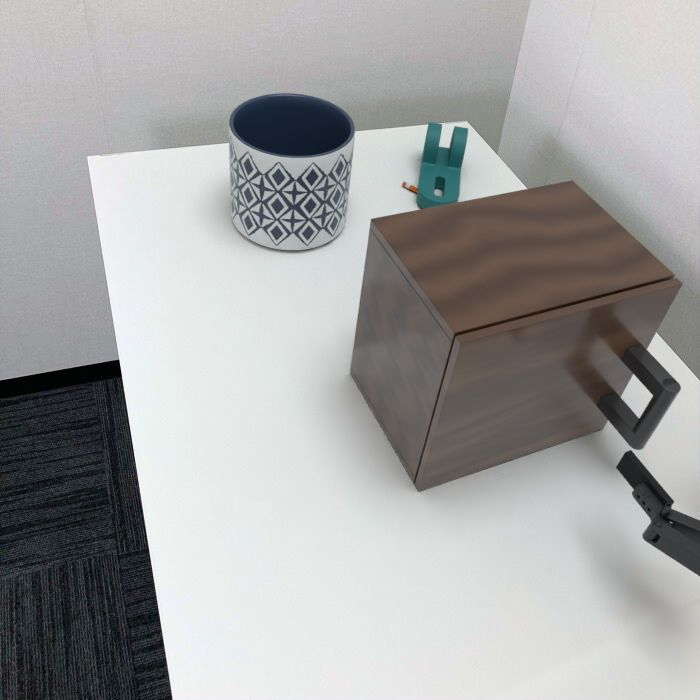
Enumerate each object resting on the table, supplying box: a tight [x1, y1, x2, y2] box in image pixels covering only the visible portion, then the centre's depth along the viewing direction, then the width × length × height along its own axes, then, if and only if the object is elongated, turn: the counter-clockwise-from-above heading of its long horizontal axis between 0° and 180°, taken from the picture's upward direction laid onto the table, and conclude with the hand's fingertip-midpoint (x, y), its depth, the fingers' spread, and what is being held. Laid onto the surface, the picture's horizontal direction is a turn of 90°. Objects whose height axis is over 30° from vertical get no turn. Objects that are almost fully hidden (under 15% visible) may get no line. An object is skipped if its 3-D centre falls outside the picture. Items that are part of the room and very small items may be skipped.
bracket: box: [416, 121, 469, 209], centre depth 125 cm, size 18×7×8 cm, turn 172°
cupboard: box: [349, 179, 676, 484], centre depth 85 cm, size 18×26×24 cm
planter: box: [228, 92, 356, 251], centre depth 111 cm, size 18×18×16 cm
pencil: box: [401, 181, 418, 194], centre depth 123 cm, size 1×18×1 cm, turn 52°
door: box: [414, 277, 684, 492], centre depth 77 cm, size 8×26×24 cm, turn 114°
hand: (673, 439), depth 78 cm, fingers open, 13 cm apart
